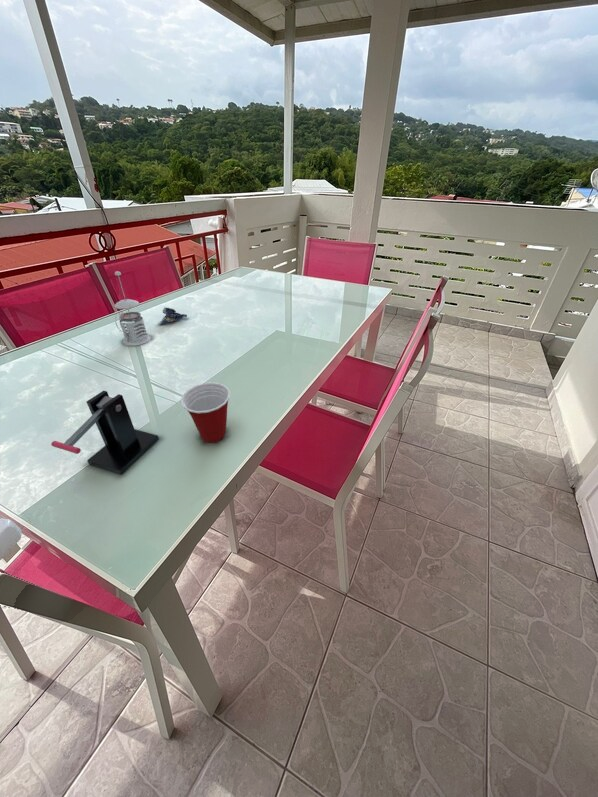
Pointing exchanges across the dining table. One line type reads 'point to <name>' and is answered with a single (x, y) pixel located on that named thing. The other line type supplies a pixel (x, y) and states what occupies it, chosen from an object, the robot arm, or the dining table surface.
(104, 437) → the bracket
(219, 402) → the plastic cup
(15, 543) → the robot arm
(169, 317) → the snack package
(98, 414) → the lever
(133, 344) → the french press
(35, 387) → the dining table surface
